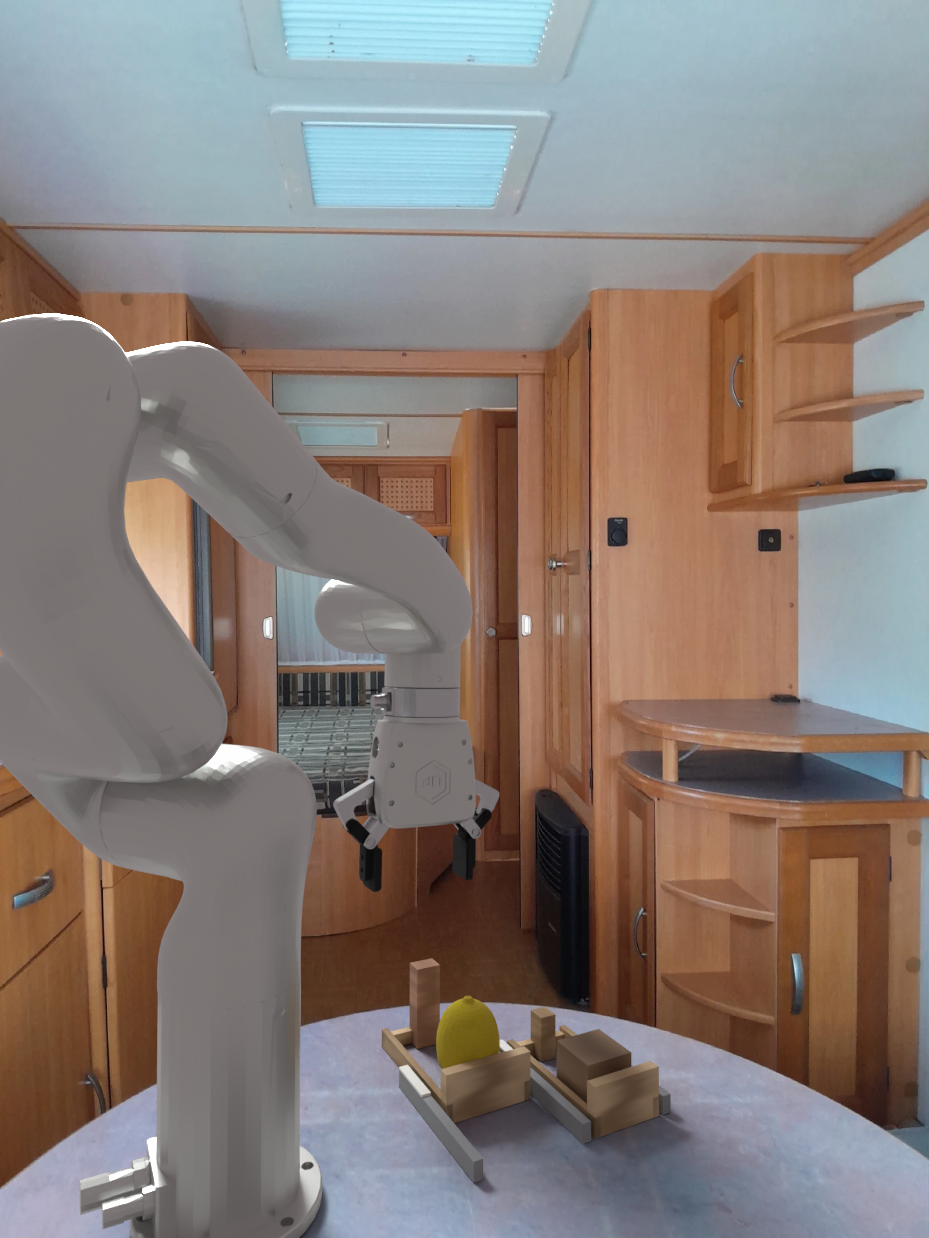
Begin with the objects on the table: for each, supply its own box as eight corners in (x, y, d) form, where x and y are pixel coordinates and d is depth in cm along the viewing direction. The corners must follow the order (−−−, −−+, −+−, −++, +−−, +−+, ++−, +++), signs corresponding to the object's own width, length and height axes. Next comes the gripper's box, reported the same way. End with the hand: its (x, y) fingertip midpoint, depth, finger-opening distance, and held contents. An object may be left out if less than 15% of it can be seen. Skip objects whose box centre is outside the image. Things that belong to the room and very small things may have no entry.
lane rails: (473, 1183, 57) (473, 1159, 57) (398, 1086, 69) (398, 1066, 69) (591, 1140, 62) (591, 1118, 62) (502, 1057, 74) (502, 1039, 74)
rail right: (663, 1114, 65) (663, 1096, 65) (581, 1050, 75) (581, 1034, 75) (670, 1112, 66) (670, 1093, 66) (587, 1048, 76) (587, 1032, 76)
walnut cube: (587, 1121, 65) (587, 1065, 65) (556, 1093, 69) (556, 1040, 69) (631, 1106, 67) (631, 1052, 67) (598, 1079, 71) (598, 1028, 71)
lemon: (500, 1073, 72) (500, 983, 72) (498, 1109, 66) (498, 1012, 66) (439, 1070, 72) (439, 981, 72) (432, 1106, 66) (432, 1010, 67)
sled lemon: (446, 1125, 64) (446, 1031, 64) (381, 1046, 76) (382, 967, 76) (530, 1099, 68) (530, 1009, 68) (456, 1027, 80) (456, 952, 80)
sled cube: (594, 1138, 62) (594, 1087, 62) (507, 1057, 74) (506, 1014, 74) (658, 1115, 65) (658, 1066, 65) (564, 1041, 77) (564, 999, 77)
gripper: (351, 709, 71) (346, 904, 70) (516, 707, 79) (514, 882, 78) (325, 704, 78) (320, 882, 77) (480, 703, 86) (478, 864, 85)
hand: (418, 882), depth 77 cm, fingers open, 9 cm apart
